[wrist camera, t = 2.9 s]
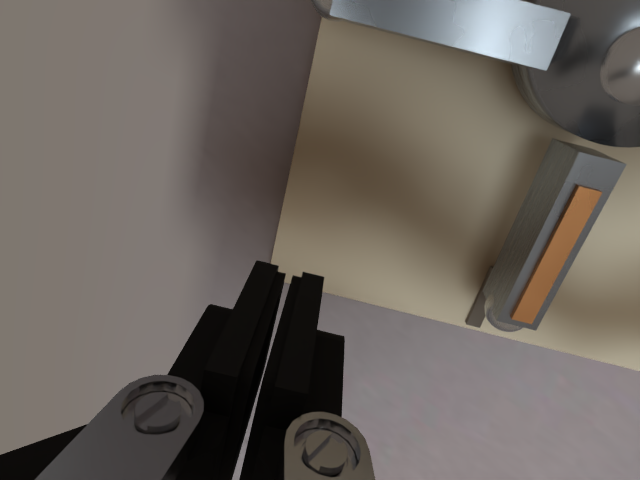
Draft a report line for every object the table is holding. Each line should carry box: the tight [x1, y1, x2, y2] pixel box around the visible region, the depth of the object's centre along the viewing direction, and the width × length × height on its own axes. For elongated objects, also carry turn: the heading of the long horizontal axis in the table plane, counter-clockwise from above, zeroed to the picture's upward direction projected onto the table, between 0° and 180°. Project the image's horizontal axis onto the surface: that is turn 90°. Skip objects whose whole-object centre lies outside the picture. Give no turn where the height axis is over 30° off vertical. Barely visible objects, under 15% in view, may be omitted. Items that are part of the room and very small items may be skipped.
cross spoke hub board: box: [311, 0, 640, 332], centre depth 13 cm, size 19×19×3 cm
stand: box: [271, 17, 640, 371], centre depth 15 cm, size 22×19×2 cm
